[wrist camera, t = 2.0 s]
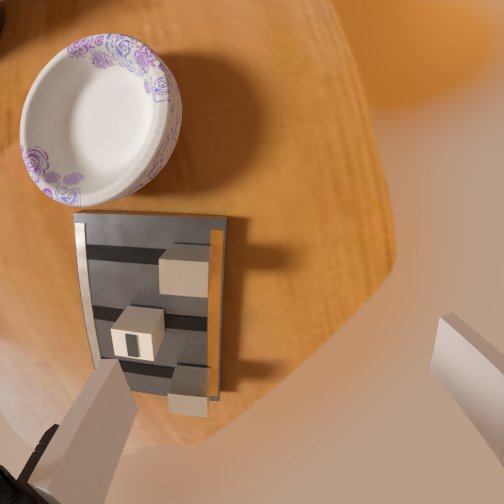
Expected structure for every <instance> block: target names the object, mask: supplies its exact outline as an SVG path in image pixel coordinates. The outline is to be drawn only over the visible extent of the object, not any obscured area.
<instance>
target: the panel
mask: <svg viewBox="0 0 504 504" xmlns="http://www.w3.org/2000/svg"><path fill="white" fill-rule="evenodd" d="M227 217H228V216H216V215H198V214H178V213H156V212H130V211H95V210H82V211H79V212H76V213H74V232H75V248H76V260H77V270H78V279H79V287H80V295H81V302H82V308H83V315H84V320H85V326H86V332H87V337H88V342H89V347H90V351H91V356H92V360H93V365H94V369H96V367H97V366H98V364H99V363H100V361H101V360H102V359H118V361H119V363H120V366H121V368H122V371H123V374H124V376H125V378H126V381H127V383H128V386H129V388H130V390H131V391H136V392H142V393H149V394H156V395H163V396H168V402H169V410H170V413H173V414H181V415H190V416H200V417H208V409H209V400H210V401H219V400H220V380H221V346H222V318H223V294H224V273H225V253H226V235H227ZM127 306H135V307H145V308H154V309H164V325H165V336H164V338H163V340H162V343H161V345H160V348H159V350H158V352H157V355H156V357H155V360H154V361H149V360H142V359H135V358H129V357H122V356H116V355H115V353H114V347H113V341H112V335H111V327H112V326H113V325H114V323H115V322H116V321H117V319H118V318H119V317H120V315H121V314H122V312H123V311H124V310H125V308H126V307H127Z"/></svg>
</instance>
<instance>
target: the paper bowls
mask: <svg viewBox="0 0 504 504" xmlns="http://www.w3.org/2000/svg"><path fill="white" fill-rule="evenodd" d="M181 121H182V100H181V95H180V91H179V87H178V85H177V82H176V80H175V78H174V76H173V74H172V72H171V71H170V69H169V68H168V67H167V65H166V64H165V63H164V62H163V60H162V59H161V58H160V57H159V56H158V55H157V54H156V52H155V51H154V50H153V49H151V48H150V47H149V46H148V45H146V44H145V43H144V42H142V41H140V40H138V39H135V38H133V37H131V36H127V35H123V34H116V33H105V34H97V35H93V36H89V37H86V38H83V39H81V40H79V41H76V42H74V43H73V44H71V45H69V46H68V47H66V48H64V49H63V50H62V51H60V52H59V53H58V54H57V55H56V56H55V57H54V58H53V59H52V60H51V61H50V62H49V63H48V64H47V65H46V66H45V67H44V68H43V70H42V71H41V72H40V74H39V75H38V77H37V78H36V80H35V81H34V83H33V85H32V87H31V89H30V91H29V93H28V96H27V98H26V101H25V104H24V107H23V112H22V117H21V123H20V147H21V153H22V156H23V160H24V163H25V166H26V168H27V171H28V173H29V175H30V176H31V178H32V180H33V181H34V182H35V183H36V185H37V186H38V187H39V188H40V189H41V190H42V191H43V192H44V193H45V194H46V195H47V196H49V197H50V198H52V199H54V200H55V201H58V202H60V203H62V204H65V205H68V206H74V207H93V206H96V205H100V204H103V203H107V202H110V201H114V200H116V199H119V198H123V197H125V196H128V195H130V194H132V193H134V192H136V191H137V190H139V189H140V188H142V187H143V186H144V185H146V184H147V183H148V182H150V181H151V180H152V179H153V178H154V177H155V176H156V175H157V174H158V173H159V172H160V171H161V170H162V168H163V167H164V166H165V165H166V163H167V162H168V160H169V158H170V156H171V154H172V152H173V150H174V148H175V145H176V143H177V140H178V136H179V132H180V127H181Z"/></svg>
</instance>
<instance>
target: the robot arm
mask: <svg viewBox="0 0 504 504" xmlns="http://www.w3.org/2000/svg"><path fill="white" fill-rule="evenodd" d="M2 23H3V9H2V7H1V6H0V31H1V28H2ZM430 370H431V371H432V373H433V374H434V375H435V376H436V377H437V379H438V380H439V381H440V382H441V384H442V385H443V386H444V387H445V388H446V390H447V391H448V392H449V394H450V395H451V396H452V397H453V399H454V400H455V401H456V402H457V404H458V405H459V406H460V408H461V409H462V410H463V412H464V413H465V414H466V416H467V417H468V418H469V420H470V421H471V422H472V423H473V425H474V426H475V427H476V429H477V430H478V431H479V433H480V434H481V436H482V437H483V438H484V440H485V441H486V443H487V444H488V445H489V447H490V448H491V449H492V451H493V452H494V454H495V455H496V457H497V458H498V459H499V461H500V462H501V463H502V465H503V467H504V355H503V354H502V353H501V352H500V351H498V350H497V349H496V348H495V347H494V346H493V345H492V344H490V343H489V342H488V341H487V340H486V339H484V338H483V337H482V336H481V335H480V334H478V333H477V332H476V331H475V330H473V329H472V328H471V327H470V326H469V325H467V324H466V323H465V322H464V321H463V320H461V319H460V318H459V317H458V316H456V315H455V314H454V313H452V314H448V315H444V316H441V317H440V319H439V325H438V331H437V336H436V341H435V347H434V352H433V356H432V361H431V365H430ZM138 409H139V408H138V406H137V404H136V402H135V400H134V397H133V395H132V393H131V390H130V388H129V386H128V383H127V381H126V378H125V376H124V374H123V371H122V368H121V366H120V363H119V361H118V359H102V360H101V361H100V363H99V364H98V366H97V367H96V369H95V370H94V372H93V373H92V375H91V376H90V378H89V379H88V381H87V382H86V384H85V386H84V387H83V389H82V390H81V392H80V393H79V395H78V397H77V398H76V400H75V401H74V403H73V404H72V406H71V408H70V409H69V411H68V413H67V414H66V416H65V417H64V419H63V421H62V422H61V424H60V425H57V424H54V425H53V426H52V427H51V428H49V429H48V430H47V431H46V432H45V433H44V435H43V436H42V438H41V440H40V441H39V444H38V445H37V446H36V448H35V452H33V453H32V455H31V456H30V458H29V460H28V461H27V463H26V465H25V467H24V469H23V470H22V472H21V474H20V475H19V477H18V479H17V480H15V478H14V477H13V476H12V475H11V474H10V473H9V472H8V471H7V470H6V469H5V468H4V467H3V466H2V465H0V504H104V502H105V499H106V496H107V493H108V490H109V487H110V484H111V482H112V479H113V476H114V473H115V470H116V467H117V464H118V462H119V459H120V456H121V454H122V451H123V448H124V445H125V443H126V440H127V437H128V435H129V432H130V429H131V427H132V424H133V422H134V419H135V416H136V414H137V411H138Z"/></svg>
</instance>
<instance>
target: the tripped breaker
mask: <svg viewBox="0 0 504 504" xmlns="http://www.w3.org/2000/svg"><path fill="white" fill-rule="evenodd" d="M111 335H112V341H113V347H114V353H115V355H116V356H122V357H129V358H135V359H142V360H149V361H154V360H155V357H156V355H157V352H158V350H159V348H160V345H161V343H162V340H163V338H164V336H165V325H164V309H154V308H145V307H135V306H127V307H126V308H125V310H124V311H123V312H122V314H121V315H120V317H119V318H118V319H117V321H116V322H115V323H114V325H113V326H112V327H111Z"/></svg>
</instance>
